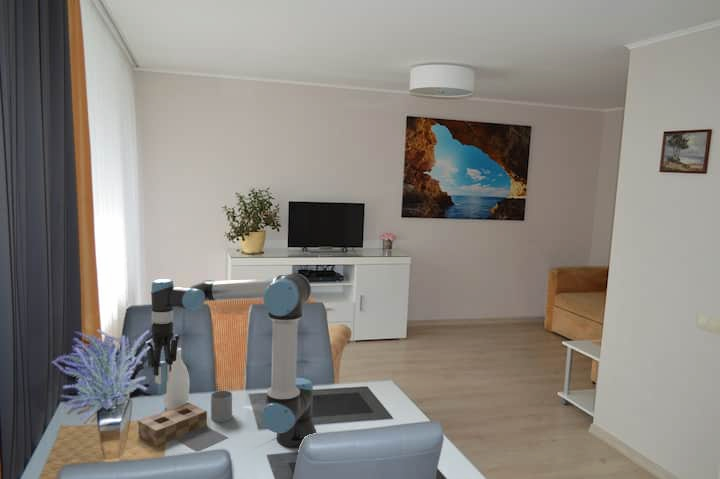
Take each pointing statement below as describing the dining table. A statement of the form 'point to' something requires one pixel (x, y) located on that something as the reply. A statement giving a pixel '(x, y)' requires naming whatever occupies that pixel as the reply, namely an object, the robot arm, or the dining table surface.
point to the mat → (201, 439)
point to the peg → (163, 378)
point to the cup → (221, 406)
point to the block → (172, 423)
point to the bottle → (177, 384)
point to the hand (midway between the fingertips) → (162, 381)
